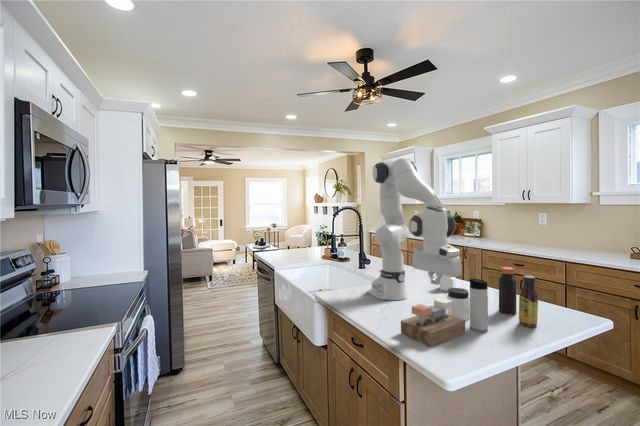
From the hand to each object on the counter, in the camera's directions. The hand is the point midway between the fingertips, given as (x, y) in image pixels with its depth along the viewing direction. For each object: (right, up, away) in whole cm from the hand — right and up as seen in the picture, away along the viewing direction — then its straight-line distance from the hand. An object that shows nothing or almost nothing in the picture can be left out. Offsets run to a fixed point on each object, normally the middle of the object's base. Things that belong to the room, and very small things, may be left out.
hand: (435, 284), depth 122 cm
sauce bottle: (+39, -18, +5) cm, 43 cm away
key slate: (-1, -17, -1) cm, 17 cm away
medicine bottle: (+28, -16, +57) cm, 66 cm away
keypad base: (-1, -19, -1) cm, 19 cm away
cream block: (+4, -15, +3) cm, 15 cm away
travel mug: (+18, -19, +2) cm, 26 cm away
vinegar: (+40, -17, +20) cm, 47 cm away
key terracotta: (-7, -15, -4) cm, 17 cm away
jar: (+15, -18, +15) cm, 28 cm away
